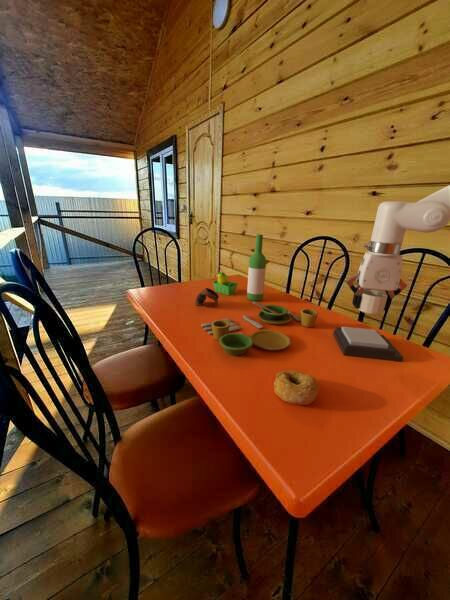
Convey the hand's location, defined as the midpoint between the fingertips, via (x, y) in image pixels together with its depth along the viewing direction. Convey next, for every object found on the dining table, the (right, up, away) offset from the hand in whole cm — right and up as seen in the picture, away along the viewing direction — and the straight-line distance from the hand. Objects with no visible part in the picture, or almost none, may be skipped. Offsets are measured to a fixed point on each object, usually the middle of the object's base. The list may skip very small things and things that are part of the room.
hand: (369, 307), depth 76 cm
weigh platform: (0, -10, +4) cm, 11 cm away
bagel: (-28, -19, -17) cm, 38 cm away
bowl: (0, -1, 0) cm, 1 cm away
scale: (+1, -13, +4) cm, 13 cm away
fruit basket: (-44, +6, +53) cm, 69 cm away
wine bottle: (-29, +3, +45) cm, 54 cm away
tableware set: (-30, -9, +13) cm, 34 cm away
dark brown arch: (-52, 0, +35) cm, 63 cm away
